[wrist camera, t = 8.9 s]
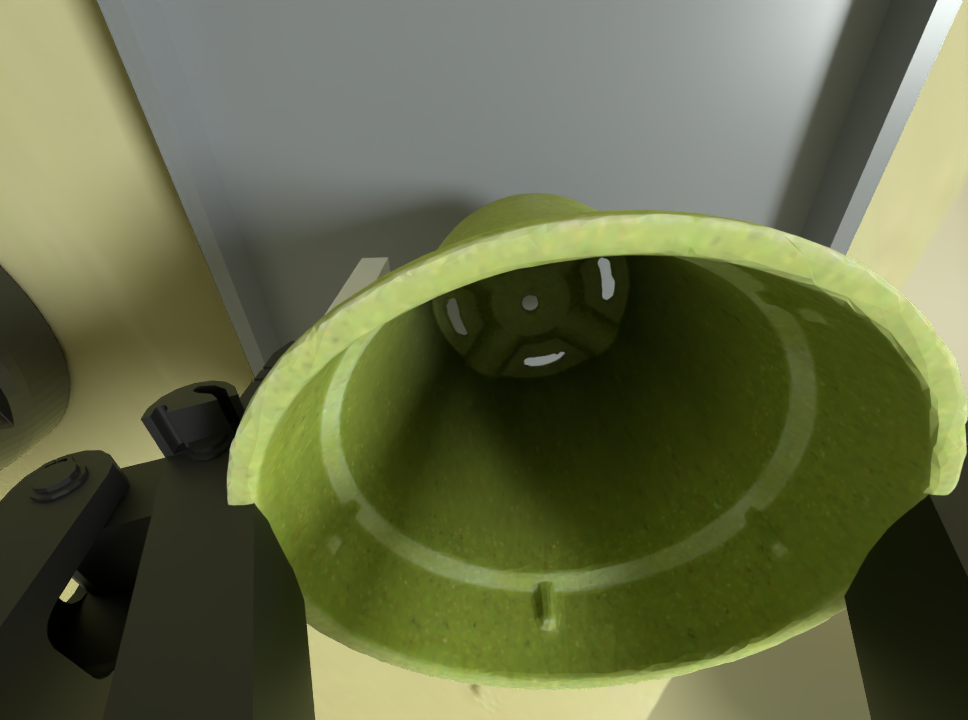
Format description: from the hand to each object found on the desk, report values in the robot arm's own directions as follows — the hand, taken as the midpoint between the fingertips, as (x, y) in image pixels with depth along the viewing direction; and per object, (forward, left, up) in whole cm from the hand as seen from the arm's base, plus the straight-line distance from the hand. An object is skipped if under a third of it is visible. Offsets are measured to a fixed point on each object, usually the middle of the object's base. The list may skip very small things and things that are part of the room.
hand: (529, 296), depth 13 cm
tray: (0, 0, -4) cm, 4 cm away
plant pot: (0, 0, -1) cm, 1 cm away
